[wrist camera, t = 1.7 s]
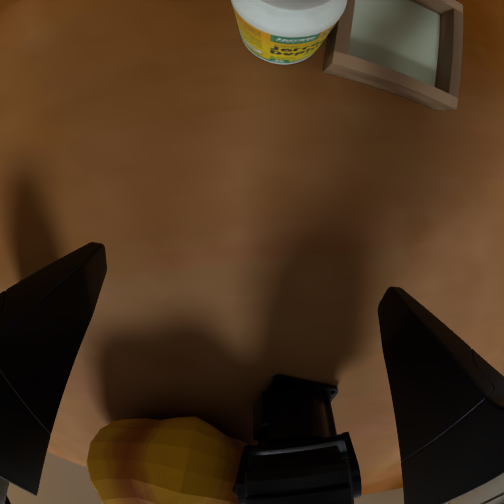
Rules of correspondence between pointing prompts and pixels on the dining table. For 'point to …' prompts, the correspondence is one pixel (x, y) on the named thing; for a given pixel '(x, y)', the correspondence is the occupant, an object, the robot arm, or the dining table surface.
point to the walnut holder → (401, 48)
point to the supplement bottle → (286, 26)
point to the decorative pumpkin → (164, 462)
